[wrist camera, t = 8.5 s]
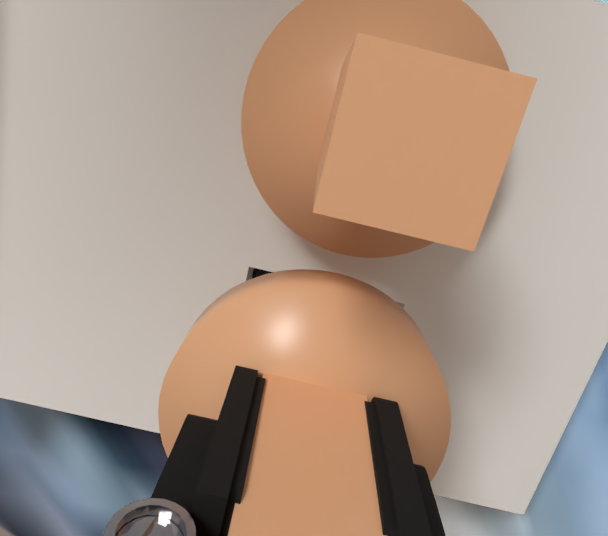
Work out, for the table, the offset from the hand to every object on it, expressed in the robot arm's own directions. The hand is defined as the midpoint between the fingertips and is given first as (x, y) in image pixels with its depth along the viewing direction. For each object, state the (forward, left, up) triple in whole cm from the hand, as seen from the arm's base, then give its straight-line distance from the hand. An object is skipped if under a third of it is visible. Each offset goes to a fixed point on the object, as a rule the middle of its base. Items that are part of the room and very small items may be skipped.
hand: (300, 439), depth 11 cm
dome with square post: (0, 0, -4) cm, 4 cm away
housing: (+2, -3, -7) cm, 8 cm away
